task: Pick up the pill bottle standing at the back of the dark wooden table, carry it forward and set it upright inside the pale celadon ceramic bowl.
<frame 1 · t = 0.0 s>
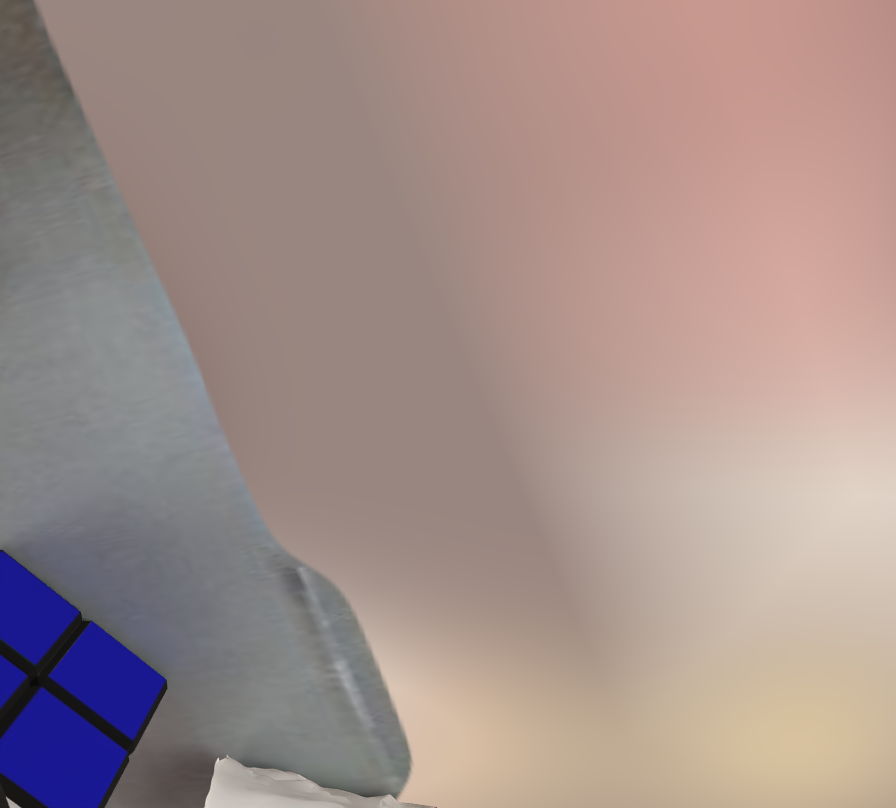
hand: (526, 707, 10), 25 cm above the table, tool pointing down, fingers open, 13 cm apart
puzzle cube: (24, 679, 39), on the table
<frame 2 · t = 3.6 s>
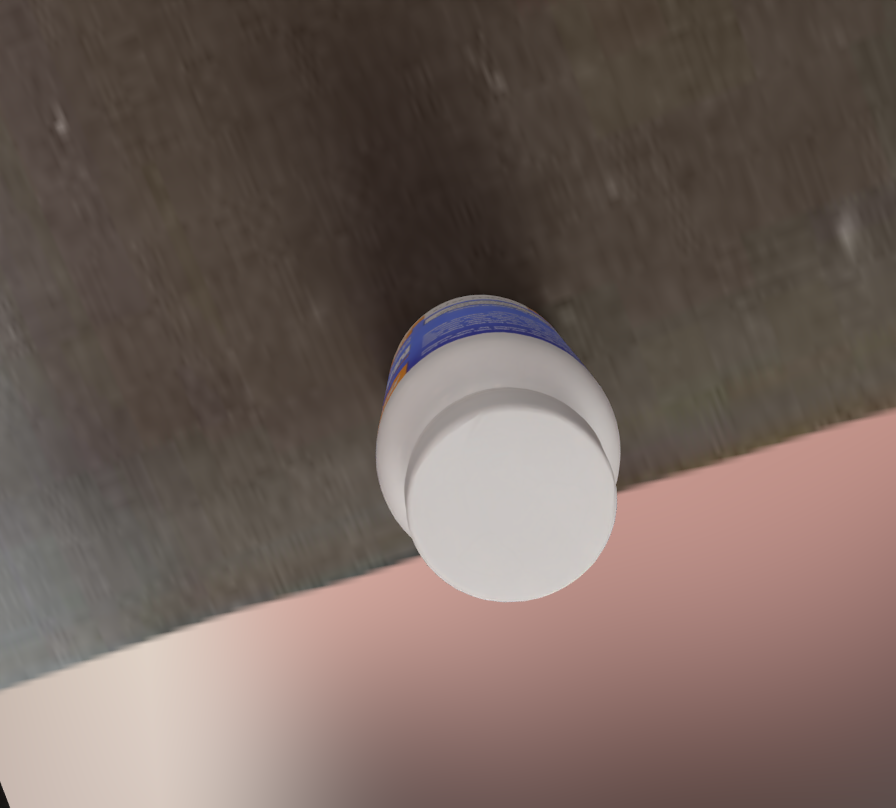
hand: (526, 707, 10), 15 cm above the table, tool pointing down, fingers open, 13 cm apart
pill bottle: (480, 381, 25), on the table
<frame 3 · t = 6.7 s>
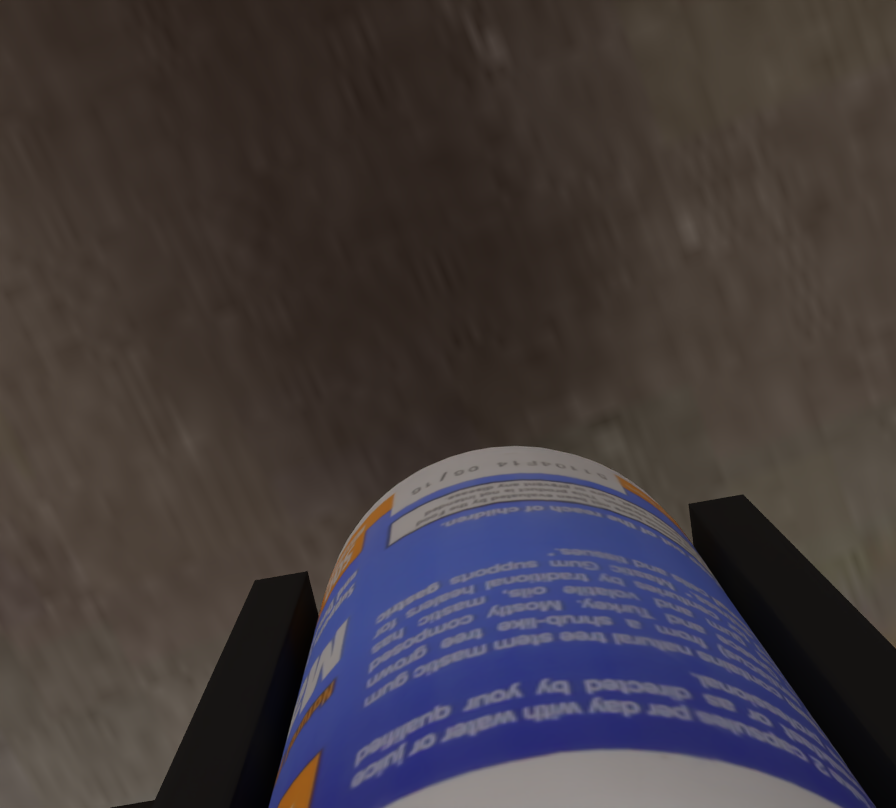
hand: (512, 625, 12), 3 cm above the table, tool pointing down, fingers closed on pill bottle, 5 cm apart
pill bottle: (512, 607, 12), point 3 cm above the table, touching gripper
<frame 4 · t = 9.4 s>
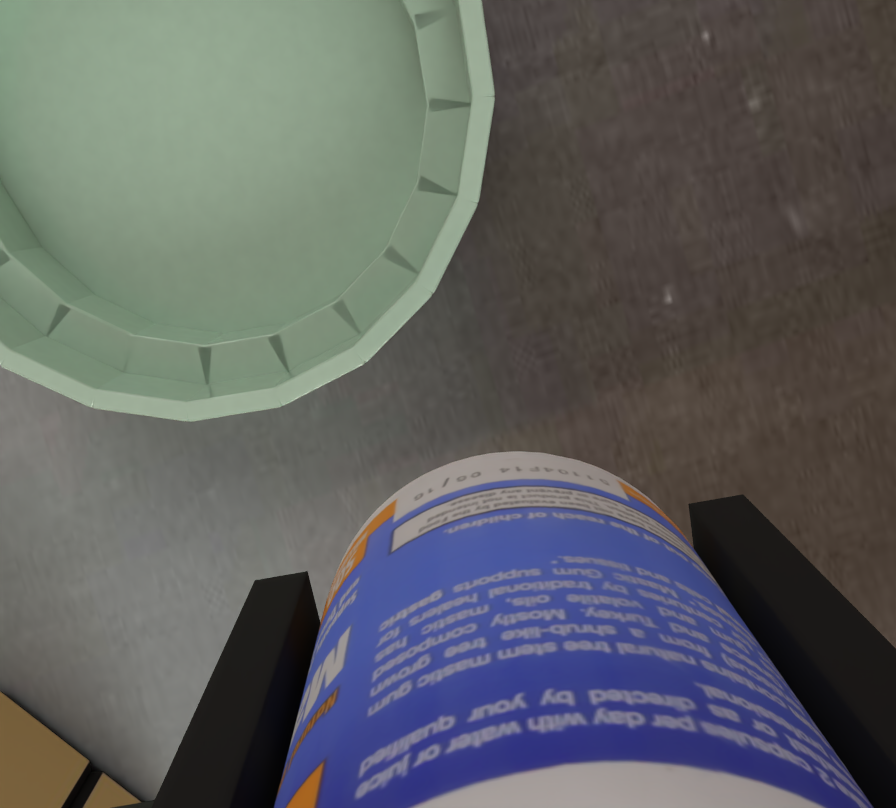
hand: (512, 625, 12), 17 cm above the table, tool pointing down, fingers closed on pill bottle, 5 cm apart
bowl: (211, 114, 26), on the table
pill bottle: (514, 612, 12), point 17 cm above the table, touching gripper
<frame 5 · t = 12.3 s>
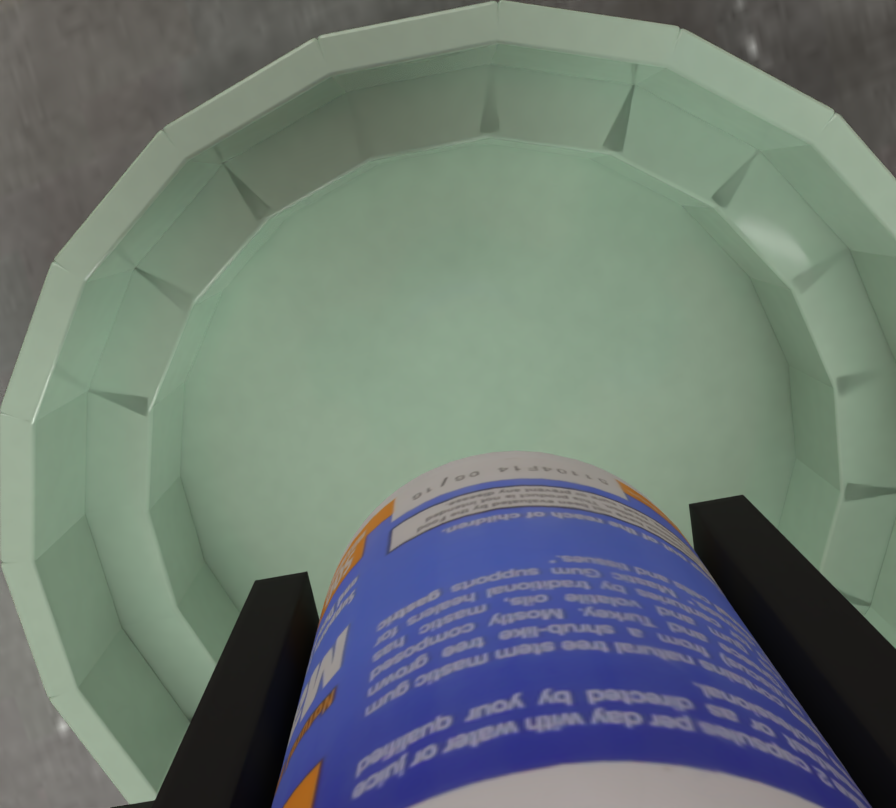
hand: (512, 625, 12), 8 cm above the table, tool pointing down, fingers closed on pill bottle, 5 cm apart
bowl: (487, 457, 19), on the table
pill bottle: (512, 612, 12), point 7 cm above the table, touching gripper
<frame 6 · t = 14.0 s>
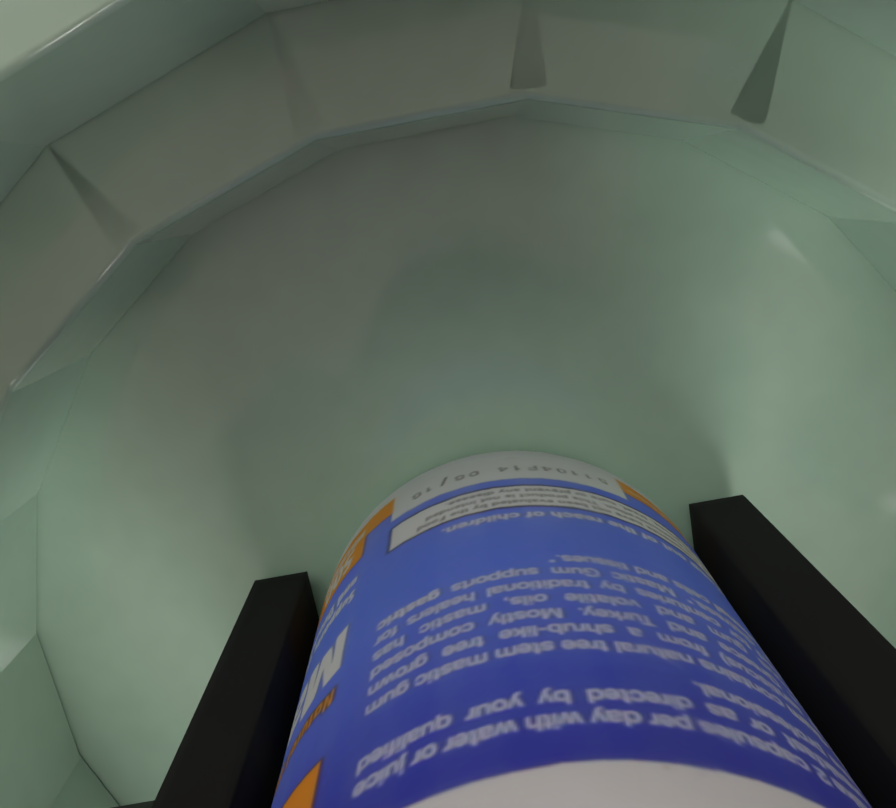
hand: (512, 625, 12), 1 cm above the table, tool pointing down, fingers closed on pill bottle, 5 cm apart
bowl: (509, 596, 13), on the table
pill bottle: (512, 611, 12), resting on bowl, touching gripper
when the fingers open (1 cm above the table, at t = 17.7 s): pill bottle stays where it is, resting on bowl.
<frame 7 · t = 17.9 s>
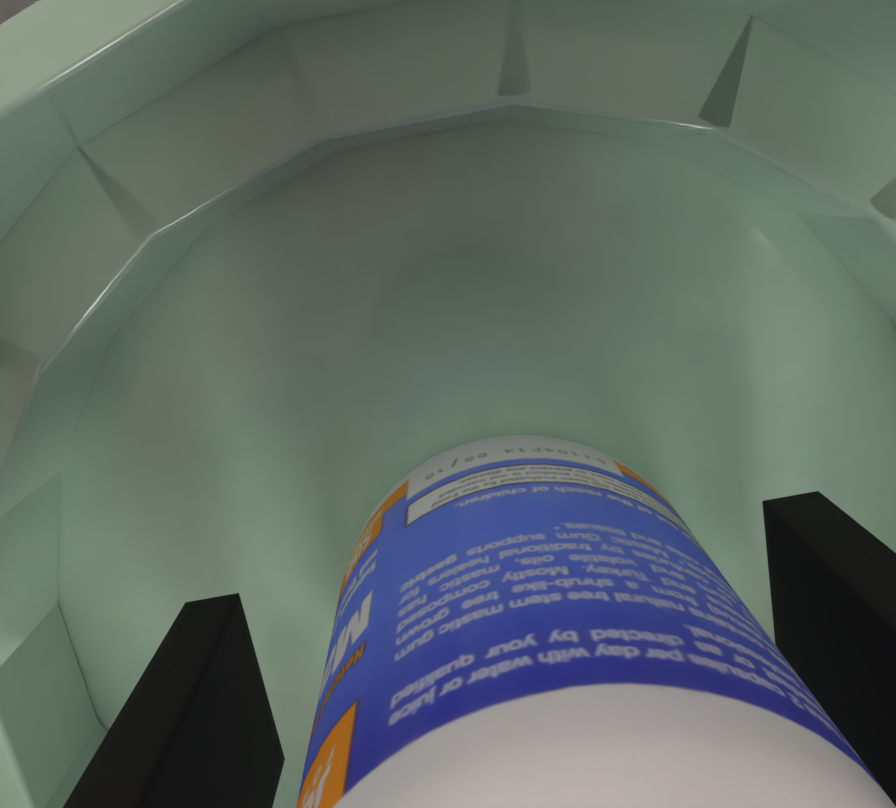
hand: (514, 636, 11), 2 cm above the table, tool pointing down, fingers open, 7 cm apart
bowl: (500, 569, 13), on the table
pill bottle: (517, 586, 13), resting on bowl
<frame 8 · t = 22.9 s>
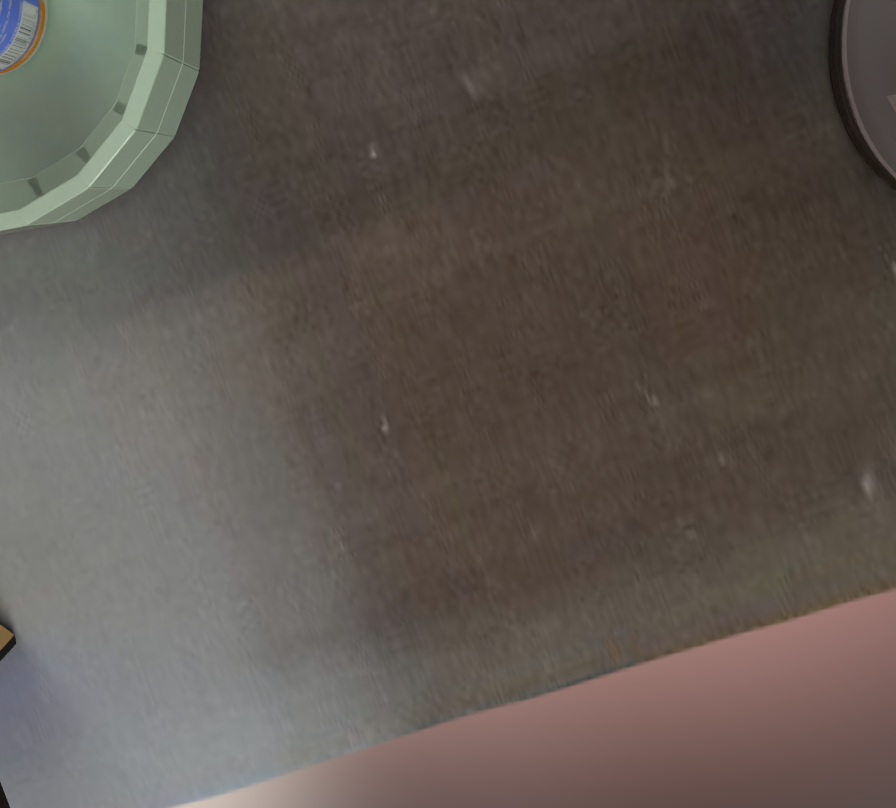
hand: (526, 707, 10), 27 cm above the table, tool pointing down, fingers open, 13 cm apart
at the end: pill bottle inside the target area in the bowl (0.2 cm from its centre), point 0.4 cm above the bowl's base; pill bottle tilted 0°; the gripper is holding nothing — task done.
